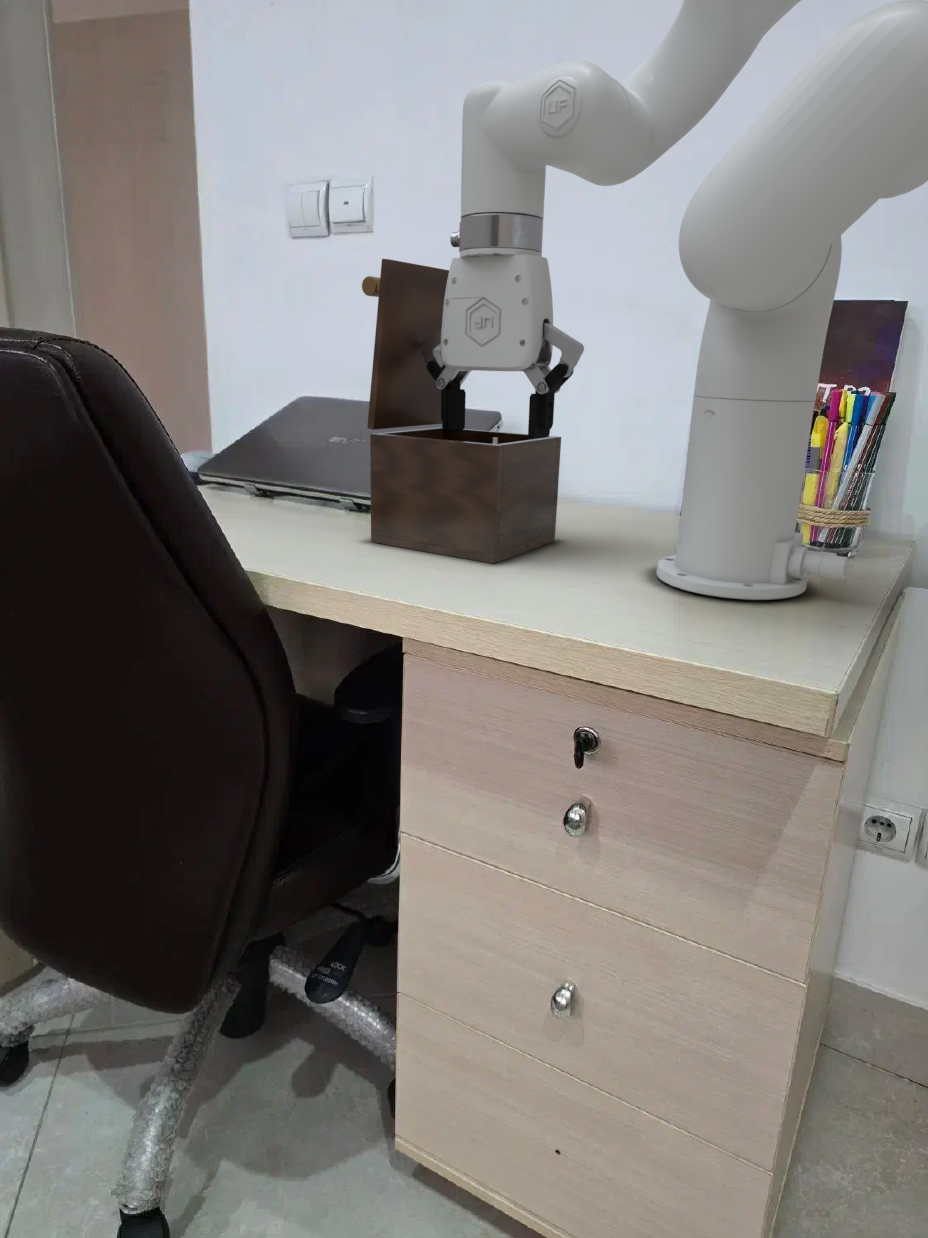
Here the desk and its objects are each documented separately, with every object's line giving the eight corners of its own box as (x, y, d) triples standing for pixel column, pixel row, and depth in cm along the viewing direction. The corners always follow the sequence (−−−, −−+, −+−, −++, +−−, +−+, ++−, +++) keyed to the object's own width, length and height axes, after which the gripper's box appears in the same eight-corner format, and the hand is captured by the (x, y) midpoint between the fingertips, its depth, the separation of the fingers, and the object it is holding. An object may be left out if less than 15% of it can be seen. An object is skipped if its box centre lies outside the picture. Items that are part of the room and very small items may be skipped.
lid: (463, 272, 85) (419, 267, 88) (388, 258, 75) (341, 253, 78) (445, 423, 91) (404, 414, 93) (373, 429, 81) (329, 419, 83)
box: (555, 541, 87) (561, 436, 84) (494, 563, 77) (498, 445, 73) (440, 523, 94) (442, 426, 91) (370, 541, 84) (370, 433, 81)
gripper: (400, 242, 77) (400, 430, 82) (569, 230, 68) (557, 442, 73) (445, 251, 83) (442, 426, 88) (605, 242, 74) (592, 437, 79)
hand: (495, 433), depth 81 cm, fingers open, 9 cm apart
